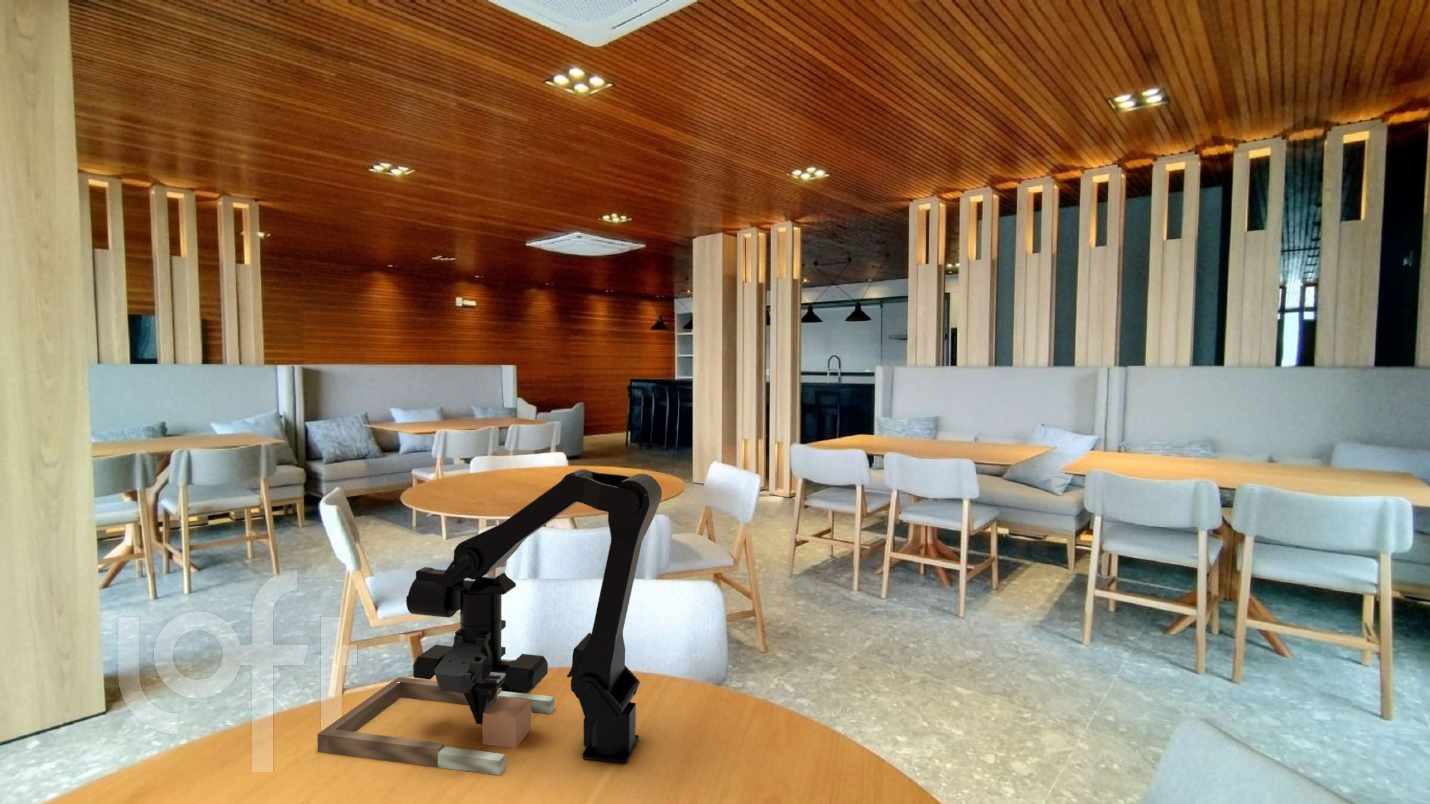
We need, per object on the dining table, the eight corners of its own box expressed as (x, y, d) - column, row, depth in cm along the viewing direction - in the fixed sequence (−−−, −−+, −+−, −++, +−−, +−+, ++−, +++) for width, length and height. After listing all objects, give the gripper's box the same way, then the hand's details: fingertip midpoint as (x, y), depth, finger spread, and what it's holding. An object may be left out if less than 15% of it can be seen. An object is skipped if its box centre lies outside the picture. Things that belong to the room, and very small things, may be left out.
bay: (554, 709, 105) (554, 693, 105) (499, 775, 88) (499, 757, 88) (398, 691, 110) (398, 676, 110) (317, 751, 93) (317, 733, 92)
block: (530, 729, 99) (531, 700, 99) (515, 748, 94) (515, 717, 94) (500, 725, 100) (500, 696, 100) (482, 743, 95) (483, 713, 95)
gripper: (387, 635, 91) (387, 745, 91) (514, 648, 87) (513, 762, 88) (435, 606, 101) (435, 705, 102) (549, 617, 98) (548, 719, 99)
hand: (480, 723), depth 98 cm, fingers closed
